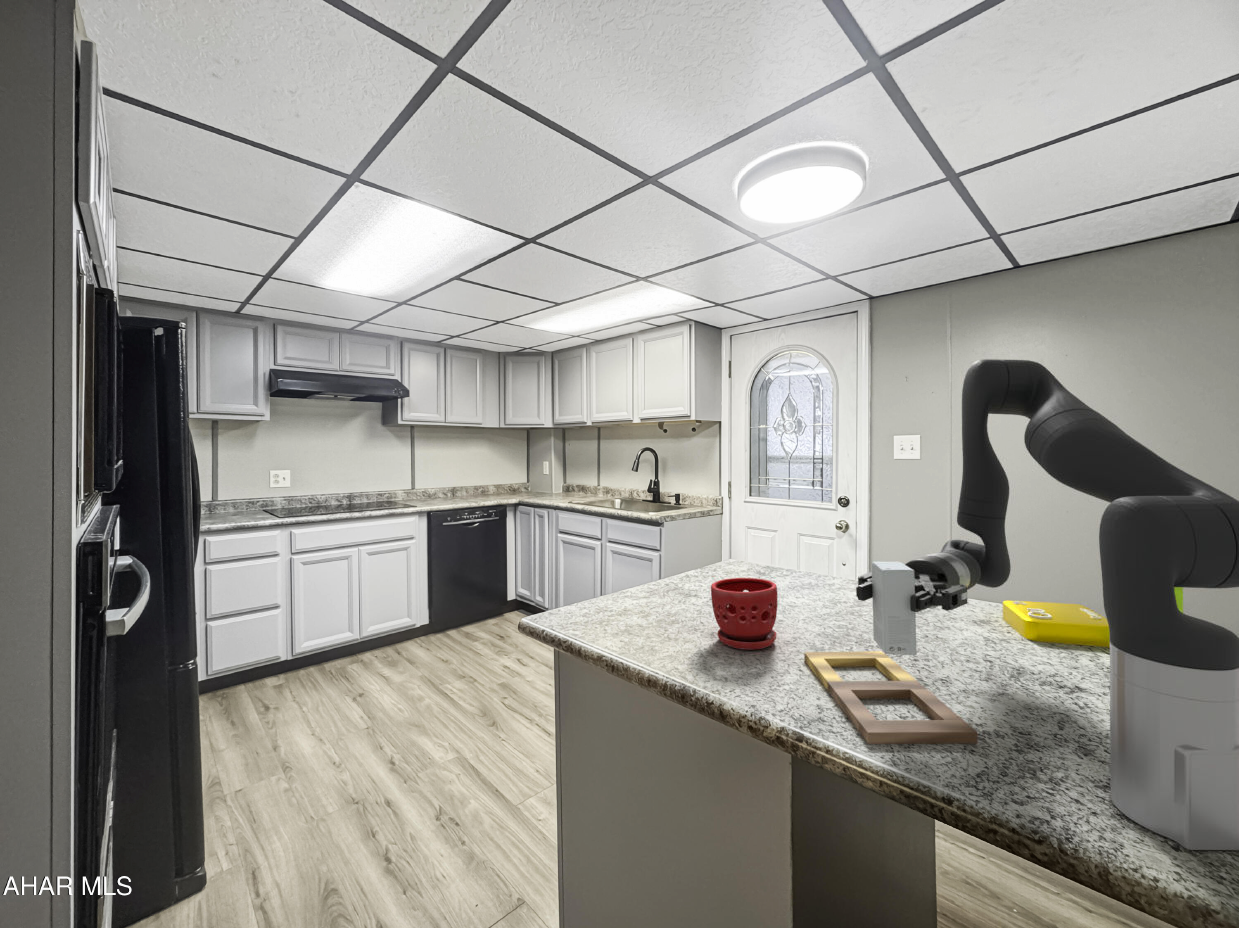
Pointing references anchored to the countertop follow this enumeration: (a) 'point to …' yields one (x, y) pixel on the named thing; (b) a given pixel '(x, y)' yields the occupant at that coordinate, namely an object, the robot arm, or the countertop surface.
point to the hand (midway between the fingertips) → (885, 598)
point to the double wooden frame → (901, 686)
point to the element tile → (1057, 623)
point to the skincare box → (893, 608)
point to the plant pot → (745, 612)
